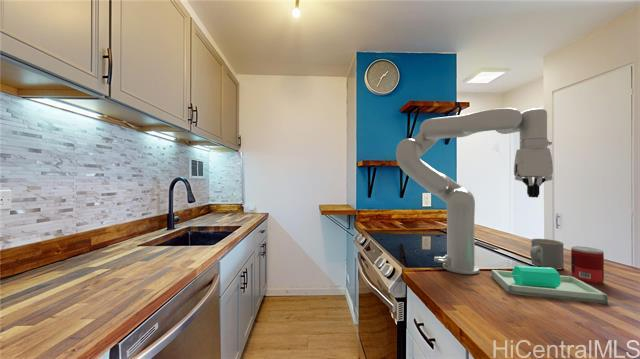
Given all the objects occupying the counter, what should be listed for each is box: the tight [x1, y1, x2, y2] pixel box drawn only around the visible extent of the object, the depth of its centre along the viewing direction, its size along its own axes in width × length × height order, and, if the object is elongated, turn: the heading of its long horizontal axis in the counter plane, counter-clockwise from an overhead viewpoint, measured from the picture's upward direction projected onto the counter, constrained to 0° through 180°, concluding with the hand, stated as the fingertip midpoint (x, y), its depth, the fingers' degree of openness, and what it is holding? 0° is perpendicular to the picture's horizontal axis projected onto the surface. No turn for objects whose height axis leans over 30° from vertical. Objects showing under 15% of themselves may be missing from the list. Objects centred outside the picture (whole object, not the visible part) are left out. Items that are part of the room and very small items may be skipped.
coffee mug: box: [529, 238, 564, 269], centre depth 108 cm, size 13×10×10 cm
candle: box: [512, 265, 561, 288], centre depth 84 cm, size 6×6×12 cm
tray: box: [491, 269, 609, 305], centre depth 84 cm, size 24×15×2 cm, turn 74°
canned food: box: [570, 245, 605, 285], centre depth 92 cm, size 8×8×11 cm
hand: (533, 197), depth 92 cm, fingers closed
